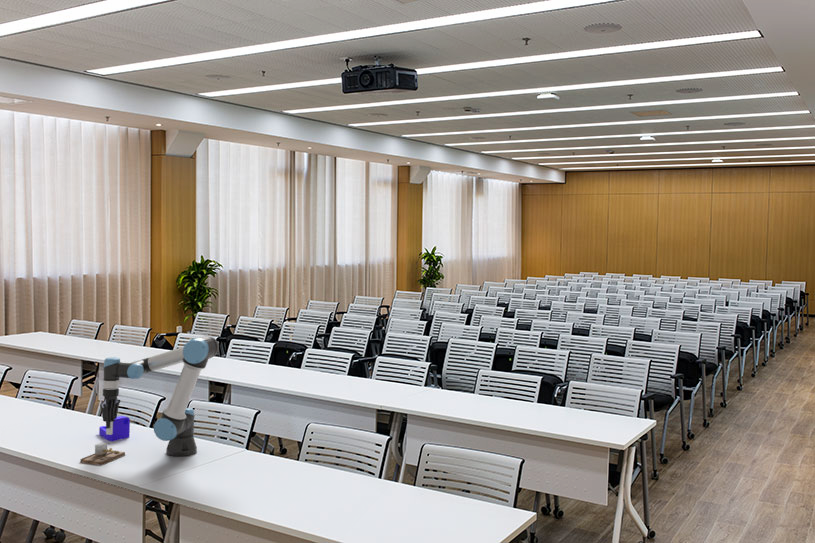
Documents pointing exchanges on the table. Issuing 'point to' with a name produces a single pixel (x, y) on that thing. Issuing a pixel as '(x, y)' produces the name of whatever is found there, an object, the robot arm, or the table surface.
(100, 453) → the slider with brass pointer
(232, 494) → the table surface
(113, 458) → the wooden knob panel
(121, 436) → the bracket
